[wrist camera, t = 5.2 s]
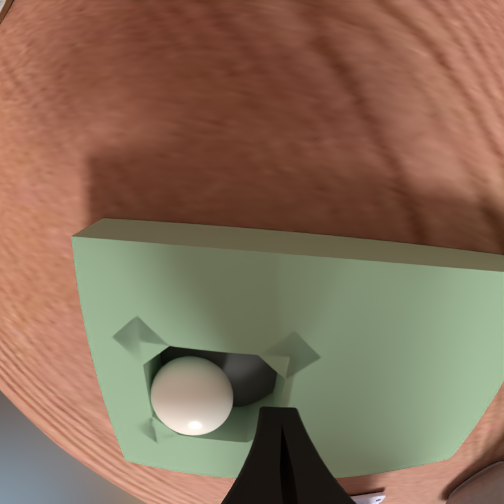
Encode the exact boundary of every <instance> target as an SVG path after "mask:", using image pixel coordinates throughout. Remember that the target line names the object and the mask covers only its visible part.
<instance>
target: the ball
mask: <svg viewBox="0 0 504 504" xmlns="http://www.w3.org/2000/svg"><path fill="white" fill-rule="evenodd" d="M151 402H152V406H153V408H154V411H155V413H156V414H157V416H158V418H159V419H160V420H161V421H162V422H163V423H164V424H165V425H166V426H167V427H169V428H170V429H172V430H174V431H176V432H178V433H182V434H185V435H202V434H206V433H209V432H211V431H213V430H215V429H217V428H218V427H219V426H220V425H222V424H223V422H224V421H225V420H226V419H227V417H228V416H229V414H230V411H231V409H232V405H233V390H232V386H231V383H230V381H229V379H228V377H227V375H226V374H225V373H224V372H223V370H222V369H221V368H220V367H218V366H217V365H216V364H214V363H213V362H211V361H209V360H207V359H204V358H201V357H196V356H185V357H180V358H177V359H174V360H172V361H170V362H168V363H167V364H165V365H164V366H163V367H162V368H161V369H160V370H159V371H158V373H157V374H156V376H155V378H154V380H153V383H152V386H151Z"/></svg>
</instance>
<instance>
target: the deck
mask: <svg viewBox="0 0 504 504" xmlns="http://www.w3.org/2000/svg"><path fill="white" fill-rule="evenodd" d="M71 237H72V247H73V256H74V265H75V272H76V279H77V286H78V292H79V298H80V304H81V310H82V315H83V320H84V325H85V330H86V334H87V339H88V343H89V348H90V352H91V356H92V360H93V364H94V368H95V372H96V375H97V379H98V382H99V386H100V389H101V393H102V396H103V399H104V402H105V406H106V409H107V412H108V415H109V418H110V421H111V424H112V426H113V429H114V432H115V435H116V438H117V440H118V443H119V446H120V448H121V451H122V453H123V456H124V458H125V461H129V462H133V463H137V464H141V465H146V466H151V467H156V468H161V469H166V470H172V471H177V472H184V473H190V474H198V475H205V476H214V477H224V478H237V477H238V475H239V473H240V471H241V469H242V467H243V464H244V462H245V460H246V458H247V456H248V453H249V451H250V448H251V445H252V443H253V440H254V437H255V434H256V428H257V422H258V415H259V409H260V408H261V407H263V406H267V407H296V408H297V409H298V412H299V414H300V417H301V419H302V422H303V424H304V426H305V429H306V431H307V433H308V435H309V437H310V439H311V441H312V443H313V445H314V446H315V448H316V450H317V452H318V453H319V455H320V457H321V458H322V460H323V462H324V463H325V465H326V466H327V468H328V469H329V471H330V472H331V474H332V475H333V476H334V478H344V477H354V476H362V475H370V474H377V473H384V472H390V471H396V470H401V469H406V468H411V467H416V466H421V465H425V464H429V463H433V462H437V461H441V460H445V459H449V458H451V457H452V456H453V455H454V453H455V452H456V451H457V450H458V448H459V447H460V446H461V444H462V443H463V442H464V441H465V439H466V438H467V437H468V435H469V434H470V432H471V431H472V430H473V428H474V427H475V425H476V424H477V423H478V421H479V420H480V418H481V417H482V415H483V414H484V412H485V411H486V409H487V408H488V406H489V405H490V403H491V401H492V400H493V398H494V397H495V395H496V393H497V392H498V390H499V388H500V387H501V385H502V383H503V381H504V255H500V254H492V253H484V252H476V251H468V250H460V249H452V248H444V247H435V246H427V245H418V244H409V243H400V242H390V241H381V240H372V239H362V238H352V237H342V236H332V235H321V234H310V233H299V232H288V231H277V230H265V229H253V228H241V227H228V226H215V225H202V224H188V223H174V222H159V221H143V220H127V219H110V218H102V219H100V220H99V221H97V222H95V223H93V224H92V225H90V226H88V227H86V228H85V229H83V230H81V231H80V232H78V233H76V234H75V235H73V236H71ZM185 356H196V357H201V358H204V359H207V360H209V361H211V362H213V363H214V364H216V365H217V366H218V367H220V368H221V369H222V370H223V372H224V373H225V374H226V375H227V377H228V379H229V381H230V383H231V386H232V390H233V405H232V409H231V411H230V414H229V416H228V417H227V419H226V420H225V421H224V422H223V424H222V425H220V426H219V427H218V428H217V429H215V430H213V431H211V432H209V433H206V434H202V435H185V434H182V433H178V432H176V431H174V430H172V429H170V428H169V427H167V426H166V425H165V424H164V423H163V422H162V421H161V420H160V419H159V418H158V416H157V414H156V413H155V411H154V408H153V406H152V402H151V386H152V383H153V380H154V378H155V376H156V374H157V373H158V371H159V370H160V369H161V368H162V367H163V366H164V365H165V364H167V363H168V362H170V361H172V360H174V359H177V358H180V357H185ZM273 389H274V390H273ZM272 390H273V392H272V393H270V392H271V391H272ZM269 393H270V394H269ZM266 395H267V396H266ZM249 404H250V405H249Z"/></svg>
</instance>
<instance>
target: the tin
mask: <svg viewBox="0 0 504 504" xmlns="http://www.w3.org/2000/svg"><path fill="white" fill-rule="evenodd" d="M12 1H13V0H0V23H1V21H2V20H3V18H4V16H5V15H6V13H7V11H8V9H9V7H10V5H11V3H12Z"/></svg>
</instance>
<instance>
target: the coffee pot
mask: <svg viewBox="0 0 504 504" xmlns="http://www.w3.org/2000/svg"><path fill="white" fill-rule="evenodd" d="M448 499H449V500H448V501H447V502H446V504H504V461H500V462H497V463H494V464H492V465H490V466H488V467H486V468H485V469H483V470H481V471H480V472H478V473H476V474H475V475H473V476H472V477H470V478H469V479H467V480H466V481H465V482H463V483H462V484H461V485H459V486H458V487H457V488H456V489H455V490H454V491H453V492H452V493H451V494H450V495H449V497H448Z"/></svg>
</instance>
